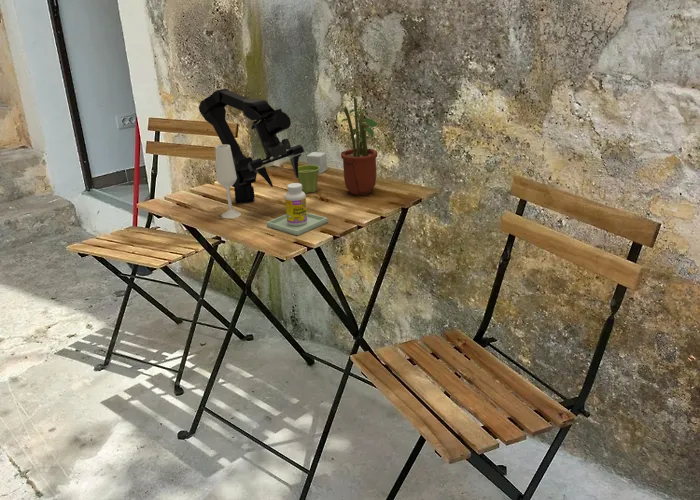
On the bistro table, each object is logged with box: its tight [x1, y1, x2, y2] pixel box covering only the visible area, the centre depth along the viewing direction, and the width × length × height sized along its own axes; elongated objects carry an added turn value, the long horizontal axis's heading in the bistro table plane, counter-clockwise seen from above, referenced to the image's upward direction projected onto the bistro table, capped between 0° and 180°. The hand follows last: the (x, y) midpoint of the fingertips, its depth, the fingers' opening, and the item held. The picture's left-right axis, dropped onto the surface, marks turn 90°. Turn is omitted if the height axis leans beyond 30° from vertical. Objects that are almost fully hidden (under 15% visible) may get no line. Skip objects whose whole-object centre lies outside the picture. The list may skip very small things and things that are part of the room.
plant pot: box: [297, 164, 320, 194], centre depth 243 cm, size 9×9×9 cm
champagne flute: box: [214, 144, 242, 219], centre depth 219 cm, size 7×7×24 cm
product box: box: [306, 151, 328, 175], centre depth 266 cm, size 6×6×7 cm
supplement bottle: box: [284, 182, 308, 226], centre depth 210 cm, size 7×7×13 cm
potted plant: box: [334, 96, 379, 196], centre depth 235 cm, size 17×16×35 cm
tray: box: [266, 212, 329, 237], centre depth 212 cm, size 14×14×2 cm
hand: (285, 182), depth 219 cm, fingers open, 9 cm apart
